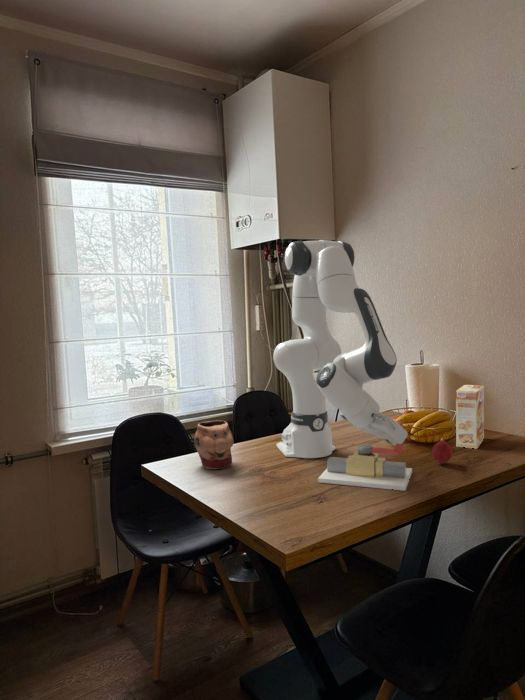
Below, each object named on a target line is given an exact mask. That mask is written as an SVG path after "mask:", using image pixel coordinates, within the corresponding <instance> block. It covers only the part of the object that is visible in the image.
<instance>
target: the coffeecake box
mask: <svg viewBox="0 0 525 700" xmlns="http://www.w3.org/2000/svg"><path fill="white" fill-rule="evenodd" d="M455 412H456V413H455V417H456V418H455V421H456V422H455V423H456V424H455V425H456V427H455V428H456V429H455V433H456V436H455V437H456V440H455V441H456V442H455V446H456V448H463V447H465V449H472V448H474V449H473V450H477V449H478V448H479V447H480V445H481V444H482V442H483V441H484V440H483V439H485V385H480V384H479V385H478V384H464V385H462V386H461V387H459V388H457V390H456V391H455Z"/></svg>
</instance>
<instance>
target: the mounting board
mask: <svg viewBox="0 0 525 700" xmlns="http://www.w3.org/2000/svg"><path fill="white" fill-rule="evenodd" d="M412 473H413V467H406V475H405V478H397V477H386V476H383V477H376V476H375V477H364V476H353V475H350V474H346V473H340V472H329V471H327V468H325V470H324V471H323V472H322V473H321V474H320V475H319V477H318V478H317V483H323V484H332V485H342V486H353V487H362V488H371V489H373V488H374V489H382V490H392V489H393V490H392V491H403V492H404V491H407V487H408V484H409V482H410V480H411V477H412ZM409 479H410V480H409Z"/></svg>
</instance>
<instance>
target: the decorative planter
mask: <svg viewBox="0 0 525 700" xmlns="http://www.w3.org/2000/svg"><path fill="white" fill-rule="evenodd" d="M193 437H194V438H193V443H194V446H195V448H196V450H197V454H198V456H199V458H200V462H201V466H202V467H203V468H205V469H207V470H219V469H226V468H229V467H231V465H232V464H233V463H232V462H233V457H232V456H233V455H232V452H231V450H232V447H233V446H234V441H235V440H234V438H233V437H234V436H233V433H232V431H231V428H230V426H229V424H228V422H227V421H224V420H210V421H204V422H199V423H198V424H197V427H196V431H195V434H194V436H193Z"/></svg>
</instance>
